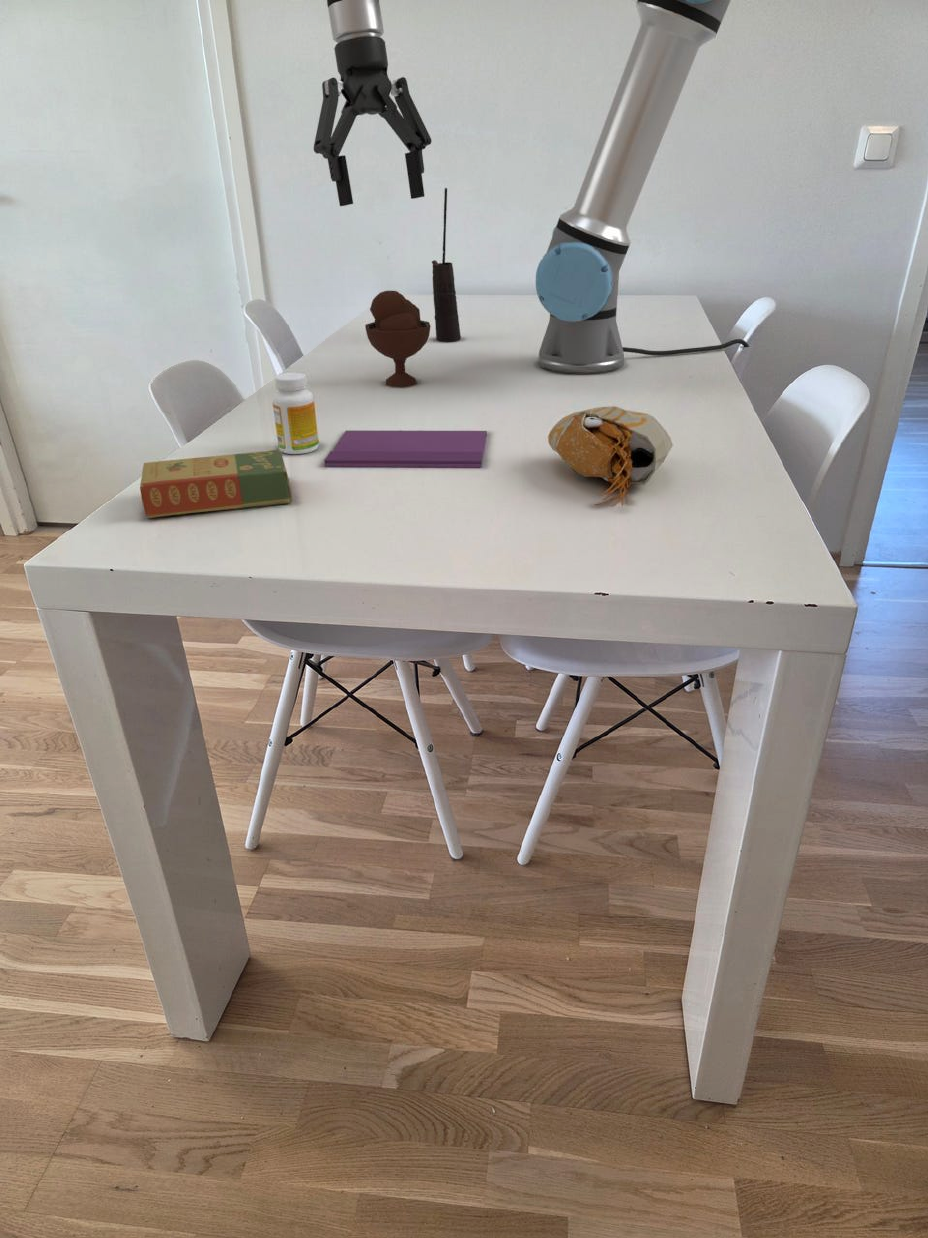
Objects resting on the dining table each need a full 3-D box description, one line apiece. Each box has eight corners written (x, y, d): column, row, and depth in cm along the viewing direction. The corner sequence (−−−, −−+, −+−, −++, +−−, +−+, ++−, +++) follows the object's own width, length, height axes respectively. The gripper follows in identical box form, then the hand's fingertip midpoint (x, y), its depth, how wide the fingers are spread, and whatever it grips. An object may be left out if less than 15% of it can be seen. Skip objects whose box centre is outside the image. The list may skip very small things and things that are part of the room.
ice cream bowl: (425, 392, 138) (421, 295, 130) (360, 389, 140) (352, 294, 132) (439, 376, 147) (436, 284, 139) (378, 374, 149) (372, 284, 141)
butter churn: (414, 337, 176) (407, 187, 162) (455, 332, 179) (452, 185, 165) (431, 345, 169) (425, 188, 155) (474, 340, 172) (472, 186, 158)
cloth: (486, 433, 118) (486, 427, 117) (481, 467, 106) (481, 461, 105) (346, 433, 119) (345, 427, 119) (324, 466, 107) (324, 460, 107)
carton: (149, 495, 100) (142, 460, 97) (286, 479, 103) (282, 446, 101) (146, 521, 93) (138, 484, 90) (293, 503, 96) (288, 467, 94)
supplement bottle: (326, 444, 115) (318, 372, 110) (307, 456, 111) (298, 382, 106) (291, 440, 117) (282, 369, 112) (271, 452, 112) (261, 379, 107)
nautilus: (667, 525, 90) (528, 521, 94) (673, 450, 107) (556, 449, 111) (670, 455, 86) (525, 454, 89) (676, 388, 103) (555, 390, 107)
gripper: (412, 48, 132) (431, 197, 141) (271, 45, 119) (302, 211, 128) (441, 35, 127) (459, 191, 135) (296, 31, 113) (327, 205, 122)
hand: (383, 201), depth 132 cm, fingers open, 13 cm apart
